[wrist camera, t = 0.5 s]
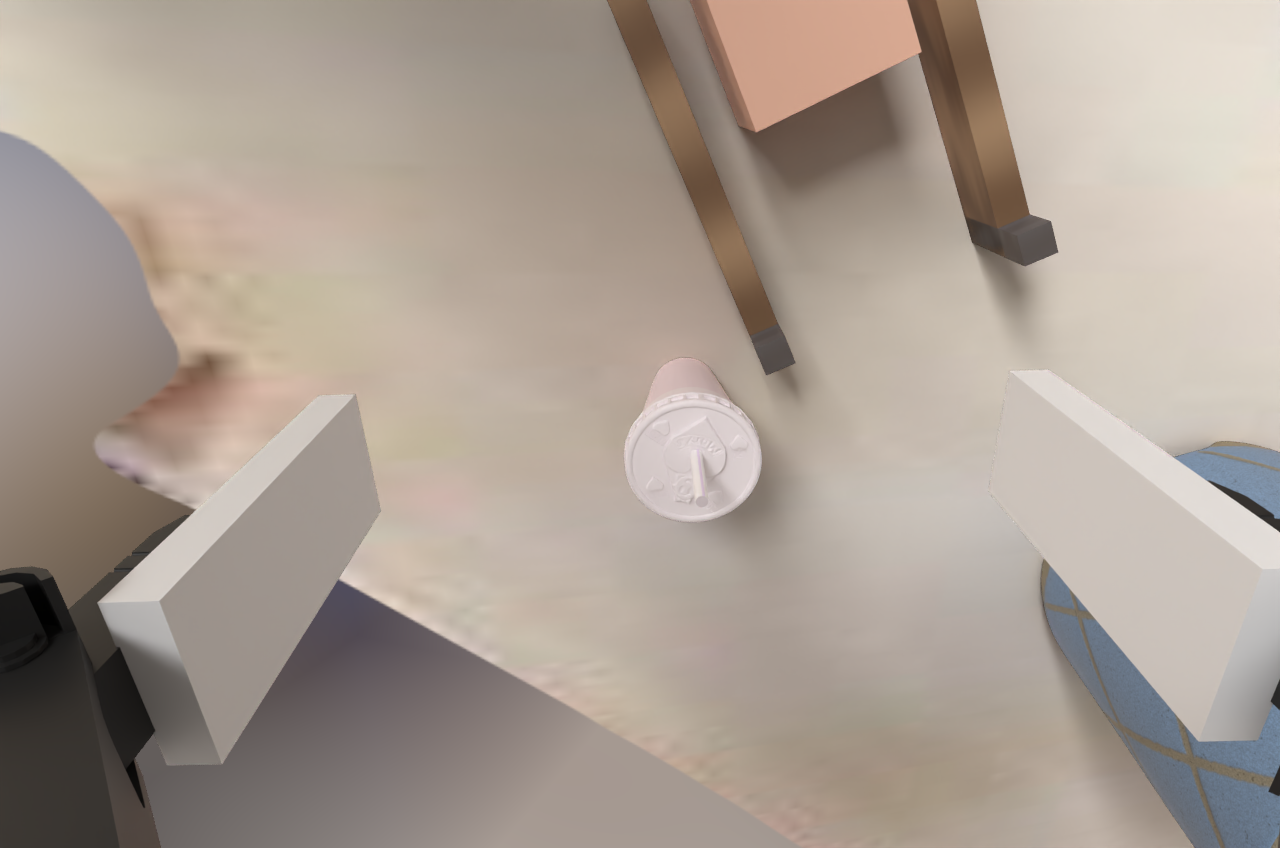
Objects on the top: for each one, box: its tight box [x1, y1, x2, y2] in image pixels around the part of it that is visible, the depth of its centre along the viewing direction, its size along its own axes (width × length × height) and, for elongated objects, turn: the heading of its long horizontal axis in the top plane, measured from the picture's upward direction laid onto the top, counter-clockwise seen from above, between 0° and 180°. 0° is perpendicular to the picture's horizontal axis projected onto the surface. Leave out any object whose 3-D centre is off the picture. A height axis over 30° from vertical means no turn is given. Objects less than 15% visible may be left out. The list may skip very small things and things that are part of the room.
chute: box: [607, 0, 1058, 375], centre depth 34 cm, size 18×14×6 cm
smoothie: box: [624, 358, 762, 522], centre depth 36 cm, size 6×6×14 cm
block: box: [690, 0, 922, 132], centre depth 32 cm, size 7×7×7 cm
